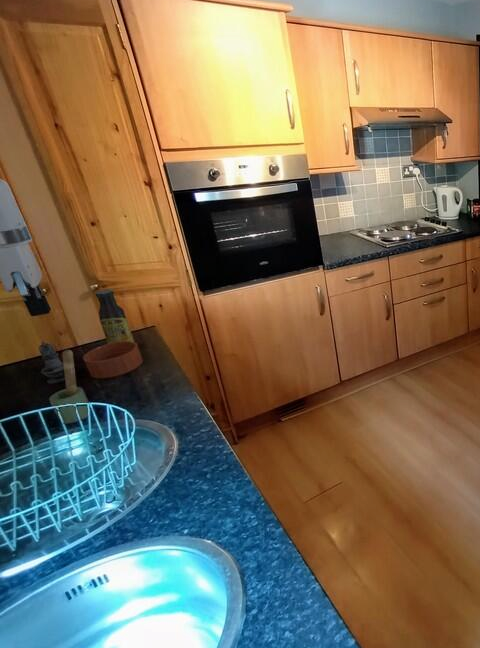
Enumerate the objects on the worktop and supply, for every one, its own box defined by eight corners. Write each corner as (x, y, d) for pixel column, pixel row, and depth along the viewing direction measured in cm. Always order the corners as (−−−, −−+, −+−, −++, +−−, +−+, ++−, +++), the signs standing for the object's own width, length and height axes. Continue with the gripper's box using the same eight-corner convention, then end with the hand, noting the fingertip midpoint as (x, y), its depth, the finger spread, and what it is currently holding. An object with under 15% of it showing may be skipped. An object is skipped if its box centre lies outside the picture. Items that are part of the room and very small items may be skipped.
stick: (69, 418, 111) (61, 352, 106) (70, 414, 113) (62, 349, 107) (79, 417, 112) (71, 351, 107) (80, 413, 114) (72, 348, 109)
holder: (59, 428, 109) (47, 404, 106) (62, 415, 113) (51, 392, 111) (91, 419, 112) (81, 395, 109) (94, 406, 117) (83, 384, 114)
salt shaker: (73, 370, 132) (56, 334, 128) (74, 378, 129) (57, 341, 124) (45, 378, 129) (27, 341, 124) (46, 386, 125) (27, 348, 120)
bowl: (88, 384, 126) (80, 366, 123) (92, 366, 135) (85, 348, 132) (143, 371, 132) (136, 353, 130) (143, 354, 141) (137, 337, 139)
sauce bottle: (108, 355, 141) (84, 296, 132) (114, 346, 146) (92, 289, 138) (133, 351, 143) (111, 293, 135) (139, 342, 148) (118, 286, 140)
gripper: (-10, 232, 101) (25, 306, 109) (-30, 248, 90) (11, 329, 98) (36, 227, 106) (67, 299, 113) (23, 242, 94) (58, 320, 102)
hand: (41, 313), depth 105 cm, fingers closed
